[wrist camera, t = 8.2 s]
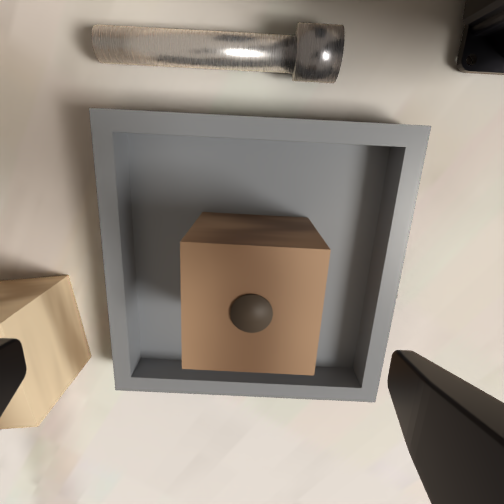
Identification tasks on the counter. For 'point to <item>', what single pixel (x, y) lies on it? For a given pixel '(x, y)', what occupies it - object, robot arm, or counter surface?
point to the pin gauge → (226, 49)
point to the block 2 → (252, 293)
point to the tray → (255, 203)
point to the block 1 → (42, 344)
